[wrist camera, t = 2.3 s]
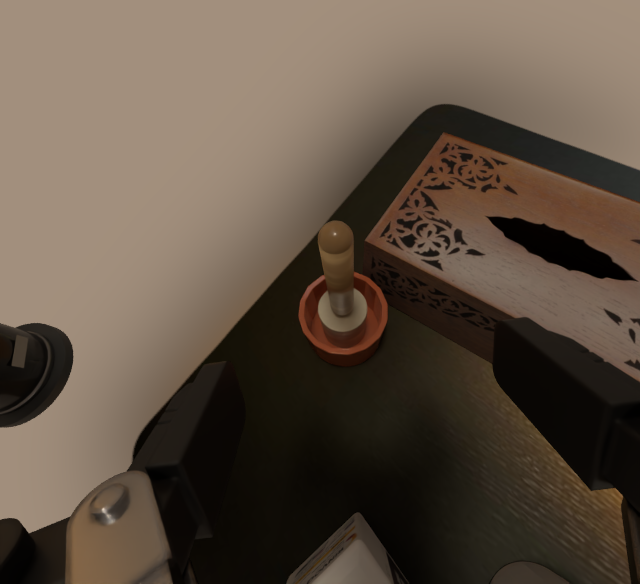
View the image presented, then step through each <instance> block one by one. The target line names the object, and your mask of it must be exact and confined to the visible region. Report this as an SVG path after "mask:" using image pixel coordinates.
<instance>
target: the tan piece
mask: <svg viewBox="0 0 640 584" xmlns="http://www.w3.org/2000/svg"><path fill="white" fill-rule="evenodd" d="M318 244H319V249H320V254H321V259H322V264H323V270H324V275H325V280H326V285H327V290H328V291H326V292H325V293H324V294H323V296H322V297H321V299H320V301H319V304H318V314H319V317H320V321H321V324H322V327H323V330H324V333H325V336H326V338H327V339H328V341H329V342H330V343H332V344H333V345H335V346H337V347H341V348H348V347H352V346H354V345H356V344H357V343H359V342H360V341H361V339H362V338H363V336H364V333H365V327H366V318H367V302H366V300H365V298H364V296H363V295H362V294H361V293H360V292H359V291H358V290H356V289H355V288H354V244H353V233H352V231H351V229H350V227H349V226H348V225H346V224H345V223H343V222H341V221H331V222H328V223H326V224H325V225H324V226H323V227H322V228H321V229H320V232H319V234H318Z"/></svg>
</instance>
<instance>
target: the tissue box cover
mask: <svg viewBox="0 0 640 584" xmlns="http://www.w3.org/2000/svg"><path fill="white" fill-rule="evenodd" d="M363 275H364V276H366V277H368V278H370V279H371V280H372V281H373V282H374V283H375V284H376V285H377V286H378V287H379V288H380V289H381V290H382V293H383V295H384V297H385V299H386V302H387V303H388V304H389V305H391V306H393V307H394V308H396V309H398V310H400V311H401V312H403V313H405V314H407V315H408V316H410V317H412V318H414V319H415V320H417V321H419V322H421V323H422V324H424V325H426V326H428V327H429V328H431V329H433V330H435V331H436V332H438V333H440V334H442V335H443V336H445V337H447V338H449V339H450V340H452V341H454V342H456V343H457V344H459V345H461V346H463V347H464V348H466V349H468V350H470V351H471V352H473V353H475V354H476V355H478V356H480V357H482V358H483V359H485V360H487V361H489V362H490V363H492V364H493V346H494V328H495V324H496V323H497V322H498V321H501V320H507V319H514V318H521V317H528V318H530V319H531V320H533V321H534V322H536V323H537V324H539V325H540V326H542V327H543V328H545V329H546V330H548V331H553V332H555V333H558V334H561V335H563V336H566V337H569V338H572V339H573V340H575V341H576V342H578V343H579V344H581V345H583V346H584V347H586V348H587V349H589V351H590V352H594V353H595V354H597V355H598V356H600V357H601V358H603V359H604V361H605V362H609V363H611V364H612V365H614V366H616V367H617V368H619V369H620V370H622V371H623V372H625V373H626V374H628V375H630V376H631V377H633V378H634V379H636V380H637V381H639V382H640V202H637V201H635V200H632V199H629V198H626V197H623V196H621V195H618V194H615V193H612V192H609V191H607V190H604V189H601V188H598V187H595V186H593V185H590V184H587V183H584V182H581V181H579V180H576V179H573V178H570V177H567V176H565V175H562V174H559V173H556V172H553V171H551V170H548V169H545V168H542V167H539V166H537V165H534V164H531V163H528V162H525V161H523V160H520V159H517V158H514V157H511V156H509V155H506V154H503V153H500V152H497V151H495V150H492V149H489V148H486V147H483V146H481V145H478V144H475V143H472V142H469V141H467V140H464V139H461V138H458V137H455V136H453V135H450V134H447V133H443V134H442V136H441V137H440V138H439V140H438V141H437V142H436V144H435V145H434V146H433V148H432V149H431V151H430V152H429V153H428V155H427V156H426V157H425V159H424V160H423V161H422V163H421V164H420V166H419V167H418V168H417V170H416V171H415V172H414V174H413V175H412V176H411V178H410V179H409V181H408V182H407V183H406V185H405V186H404V187H403V189H402V190H401V192H400V193H399V194H398V196H397V197H396V198H395V200H394V201H393V202H392V204H391V205H390V207H389V208H388V209H387V211H386V212H385V213H384V215H383V216H382V217H381V219H380V220H379V222H378V223H377V224H376V226H375V227H374V228H373V230H372V231H371V232H370V234H369V235H368V237H367V238H366V239H365V244H364V262H363Z"/></svg>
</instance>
